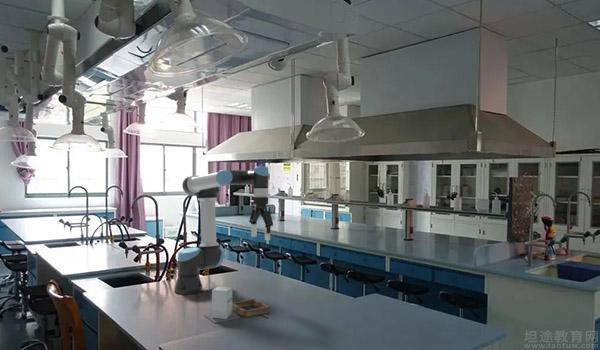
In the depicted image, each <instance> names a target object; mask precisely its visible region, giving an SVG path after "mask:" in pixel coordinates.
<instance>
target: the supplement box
mask: <svg viewBox="0 0 600 350" xmlns="http://www.w3.org/2000/svg"><path fill="white" fill-rule="evenodd" d="M232 303H233V286H221V285H220V286H219V285H218V286H217V287H215V288H213V289H212V290H211V314H212V318H219V319H227V318H228V317H229V316H230V315H231V314H232V313H233V310H232Z"/></svg>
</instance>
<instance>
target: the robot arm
mask: <svg viewBox="0 0 600 350" xmlns="http://www.w3.org/2000/svg"><path fill="white" fill-rule="evenodd" d="M269 176H270V175H269V167H268V166H264V165H262V166H259V165H257V166H254V167H253V170H247V169H246V170H245V169H244V170H242V169H235V170H234V169H220V170H218V171H217V172H213V173H209V174H204V175H189V176H187V177H186V178H184V179H183V181H182V186H181V187H182V189H183V192H184V193H186V194H187V195H189V196H194V197H196V196H197V197H196V199H197V200H198V202H199V205H200V233H201V235H200V236H201V237H200V238H201V239H200V241H201V242H200V244H199V245H198V247H196V246H195V247H194V246H192V247H187V248H186V247H185V248H183V249H181V250H179V252H178V255H177V279H176V282H175V285H174V288H173V289H174V290H173V291H174V293H175V292H176V293H175V294H179V295H191V294H192V295H193V294H194V295H195V294H197V293H201V292H203V283H202V281H201V277H200V271H203V270H208V269H215V268H217V267H220V266H221V264H222V263H223V261H224V258H225V257H224V256H225V254H224V250H223V248H222V247H221V246H220V243H219V242H218V241H217V221H216V219H217V218H216V200H218V195H220V194H221V191H222V187H223V186H232V185H233V186H234V185H235V186H245V185H246V186H249V185H250V186H251V185H253V196H254V197H253V205H252V206H251V207H252V208H251V212H250V217H249V221H248V222H249V223H250V224H251V238H257V235H258V219H259V218H260V216H261V217H262V220H263V222H264V241H270V240H271V228H272V227H273V226H274V222H273V221H274V220H273V217H272V213H271V208H270V206H267V205H269V197H268V196H269V191H270V190H269V180H270V179H269V178H270V177H269Z"/></svg>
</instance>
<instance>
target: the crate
mask: <svg viewBox="0 0 600 350" xmlns="http://www.w3.org/2000/svg"><path fill="white" fill-rule="evenodd" d="M248 306H249V307H250V306H255V307H256V308H252V309H244V307H248ZM232 311H234V312H236V313H237V314H238V315H241V316H242V317H244V318H248V317H253V316H256V315H257V316H258V315H262V314H267V313H270V306H269V305H267V304H265V303H263V302H261V301H259V300H257V299H255V298H251V299H247V300H240V301H236V302H232Z"/></svg>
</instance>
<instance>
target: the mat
mask: <svg viewBox="0 0 600 350" xmlns="http://www.w3.org/2000/svg"><path fill="white" fill-rule="evenodd" d="M203 316H204V317H206V318H207V319H208V320H209V321H211V322H212V323H214V324H220V323H225V322H228V321H233V320H238V319H240V318H241V317H240V316H238V315H237V314H235V313H233V312H232V314H231V315H230V316H229V317H228V318H227V319H219V318H212V313H207V314H204V315H203Z"/></svg>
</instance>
